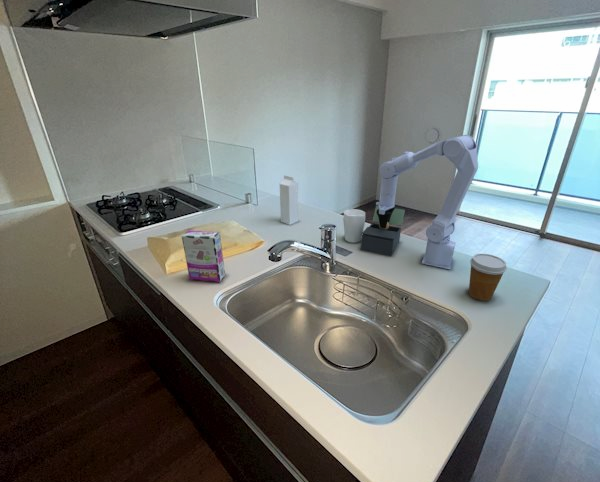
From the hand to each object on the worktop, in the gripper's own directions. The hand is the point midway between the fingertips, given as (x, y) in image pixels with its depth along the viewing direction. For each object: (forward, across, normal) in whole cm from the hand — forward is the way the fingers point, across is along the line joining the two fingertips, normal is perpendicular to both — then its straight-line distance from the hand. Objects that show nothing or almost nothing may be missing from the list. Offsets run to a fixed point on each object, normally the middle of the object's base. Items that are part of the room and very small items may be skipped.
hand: (384, 225), depth 129 cm
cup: (+8, +2, -12) cm, 15 cm away
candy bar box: (+8, +53, -46) cm, 71 cm away
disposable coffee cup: (+8, +23, +36) cm, 43 cm away
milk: (+8, -4, -46) cm, 47 cm away
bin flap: (-2, -6, 0) cm, 6 cm away
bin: (+8, +3, 0) cm, 8 cm away
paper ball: (0, 0, 0) cm, 0 cm away
